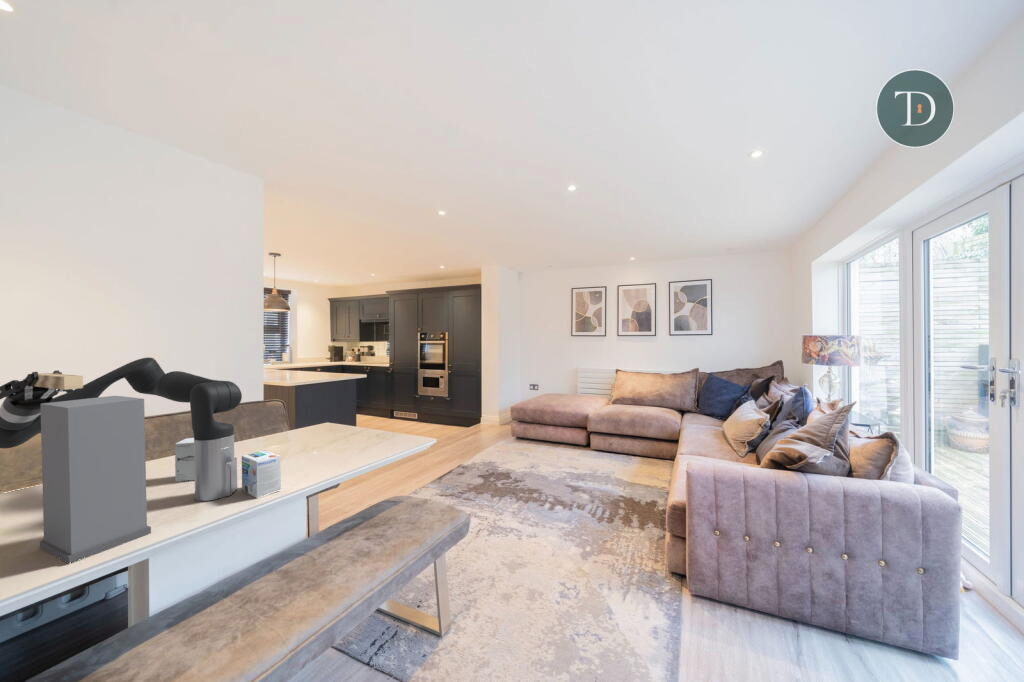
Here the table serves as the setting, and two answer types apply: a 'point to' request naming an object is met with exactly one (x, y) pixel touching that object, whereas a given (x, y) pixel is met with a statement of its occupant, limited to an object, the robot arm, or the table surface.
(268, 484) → the light bulb box
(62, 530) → the charcoal pedestal
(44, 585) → the table surface
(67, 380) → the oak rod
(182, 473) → the supplement box
